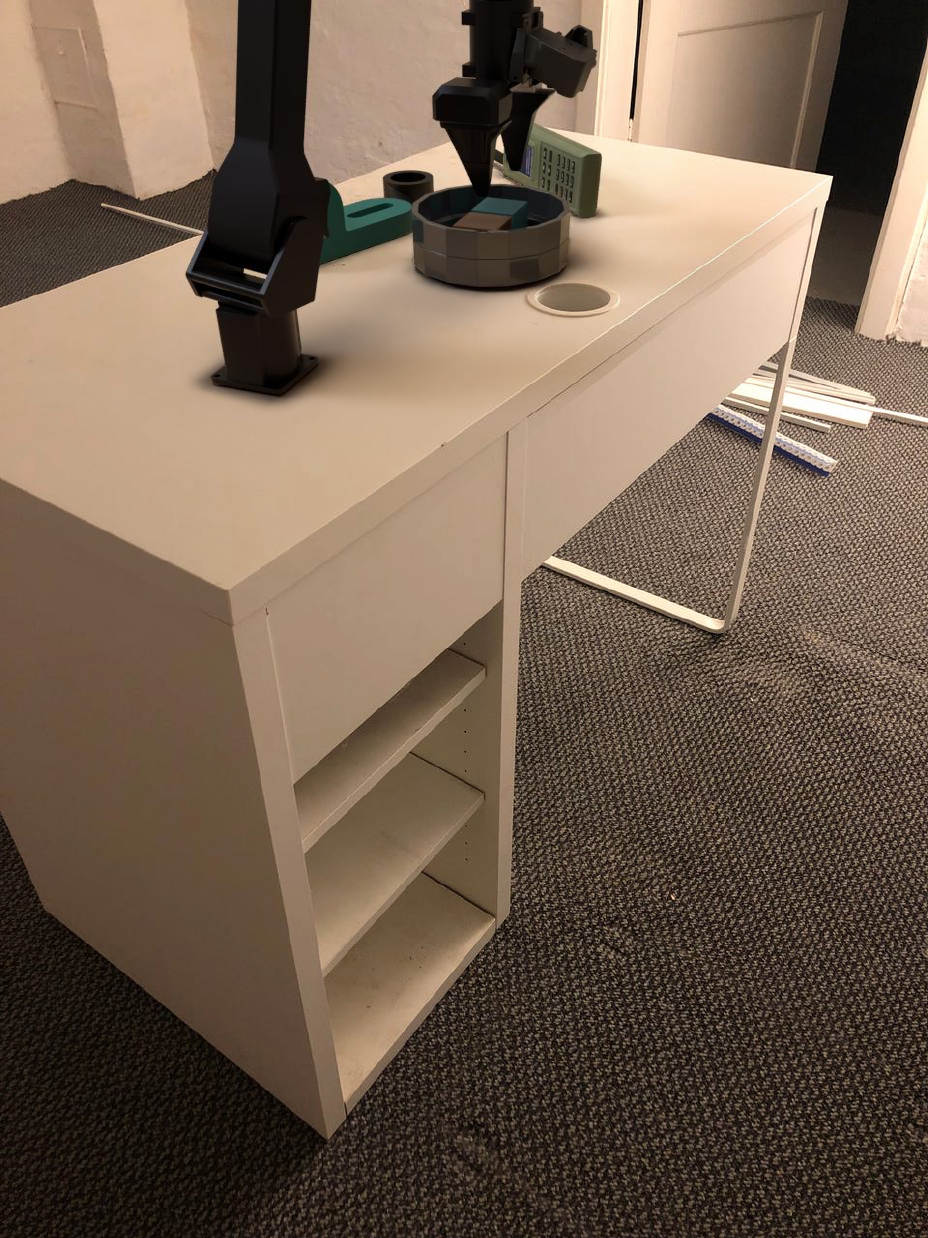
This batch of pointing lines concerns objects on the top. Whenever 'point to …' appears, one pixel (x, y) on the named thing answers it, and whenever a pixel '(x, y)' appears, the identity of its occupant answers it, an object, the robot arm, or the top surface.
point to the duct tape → (407, 185)
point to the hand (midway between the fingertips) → (499, 183)
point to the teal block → (505, 210)
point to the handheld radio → (559, 169)
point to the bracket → (363, 224)
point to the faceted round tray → (490, 238)
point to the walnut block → (484, 222)
